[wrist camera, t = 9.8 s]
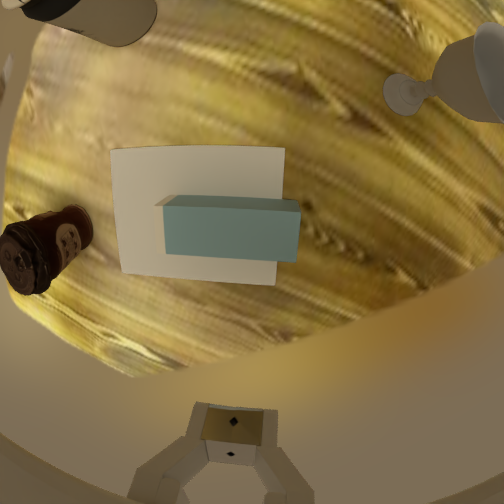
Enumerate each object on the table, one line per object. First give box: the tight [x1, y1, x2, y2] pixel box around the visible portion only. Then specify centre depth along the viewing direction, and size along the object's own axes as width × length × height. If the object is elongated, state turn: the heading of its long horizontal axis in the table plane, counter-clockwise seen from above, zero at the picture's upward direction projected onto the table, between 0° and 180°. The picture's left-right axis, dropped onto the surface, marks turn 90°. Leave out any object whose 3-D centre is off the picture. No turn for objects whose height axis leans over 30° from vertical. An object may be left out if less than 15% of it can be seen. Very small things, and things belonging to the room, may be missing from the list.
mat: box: [110, 145, 285, 286], centre depth 33 cm, size 20×16×1 cm
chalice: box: [383, 22, 504, 123], centre depth 17 cm, size 7×7×18 cm
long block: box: [153, 195, 301, 263], centre depth 30 cm, size 5×5×14 cm
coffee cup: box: [0, 204, 92, 296], centre depth 29 cm, size 9×8×13 cm
